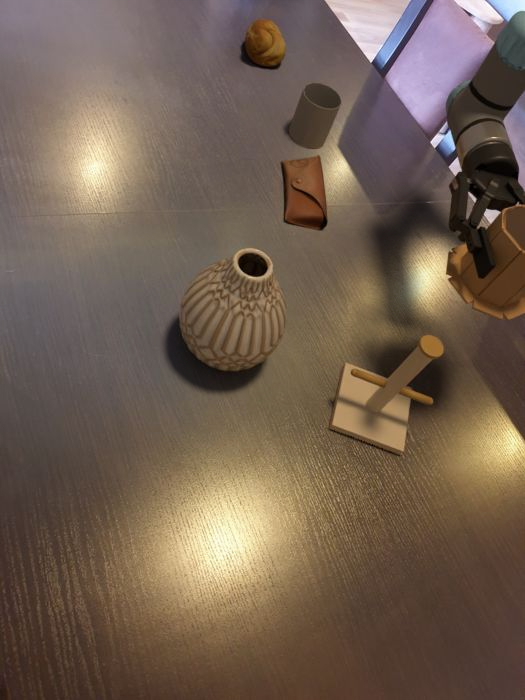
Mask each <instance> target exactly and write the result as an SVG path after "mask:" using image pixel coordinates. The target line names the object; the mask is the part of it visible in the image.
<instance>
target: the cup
mask: <svg viewBox="0 0 525 700" xmlns="http://www.w3.org/2000/svg"><path fill="white" fill-rule="evenodd" d="M342 103H343V100H342V96H341V95H340V94H339V92H338V91H337V90H336V89H334V88H333V87H332V86H330V85H327V84H325V83H323V82H310V83H307V84H305V85H304V87H303V89H302V91H301V94H300V96H299V99H298V103H297V105H296V107H295V111H294V114H293V117H292V119H291V122H290V125H289V127H288V132H289V133H288V134H289V137H290V138H291V139H292V141H293V142H294V143H296V144H297V145H299V146H300V147H303V148H306V149H308V150H309V149H311V150H316V149H317V150H318V149H320V148H322V147H324V145H325V143H326V141H327V140H328V136H329V135H330V131H331V129H332V128H333V125H334V122H335V120H336V117H337V115H338V113H339V111H340V108H341V106H342Z"/></svg>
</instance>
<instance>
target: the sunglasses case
mask: <svg viewBox="0 0 525 700" xmlns="http://www.w3.org/2000/svg"><path fill="white" fill-rule="evenodd" d="M281 166H282V171H283V177H284V190H285V211H284V220H285V221H286V222H287V223H289V224H292V225H295V226H298V227H302V228H307V229H312V230H317V231H319V230H323V229H325V228H326V227H327V226H328V223H329V222H328V221H329V220H328V206H327V196H326V187H325V179H324V171H323V170H324V169H323V164H322V159H321V155H320V154H317V155H316V156H311V157H304V158H297V159H291V160H281Z"/></svg>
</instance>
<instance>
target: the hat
mask: <svg viewBox="0 0 525 700" xmlns="http://www.w3.org/2000/svg"><path fill="white" fill-rule="evenodd" d="M486 231H487V235H488V238H489V242H490V245H491V249H492V253H493V256H494V260H495V263H496V266H495V267H494V269H493V270H492V271H491V272H490V273H489V274H488V275H487V276H486V277H485V278H484V279H481V278H478V274H477V270H476V266H475V262H474V259H473V255H472V254H471V253H469V251H468V250H467V246H466V243H463V244H460V245H457V246H454V247H453V246H452V248H451V250H449V251H448V252H447V259H446V260H447V262H446V268H445V275H447V276H449V277H448V278H447V282H449V284H450V285H451V286H452V287H453V289H454V290H455V292H456V293H457V294H458V295H459V297H460V298H461V299H462V301H463V302H464V303H465V304H466V305H469V304H472V305H471V309H473V310H474V311H477V312H479V313H482V314H484V315H487V316H488V317H491V318H493V319H497V320H499V321H503V320H504V319H505V320H506V322H508V321H511V320H514V319H516V318H518V317H520V316H523V315H525V205H521V204H520V205H519V204H516V206H513V207H509V208H505V209H503V210H502V211H501V212H499V214H497V216H496V217H495V218H494V219H493V220H492V222H491V223H490V224H489V225H488V226H487V228H486Z"/></svg>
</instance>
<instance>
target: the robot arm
mask: <svg viewBox="0 0 525 700" xmlns="http://www.w3.org/2000/svg"><path fill="white" fill-rule="evenodd" d="M524 93H525V10H519V11H517V12H515V13H514V14H513V15H512V16H511V17H510V19H509V20H508V22H507V23H506V25H504V27H503V29H502V30H501V31H500V32H499V33H498V35H497V37H496V40H495V42H494V43H493V45H492V47H491V48H490V50H489V51H488V53H487V54H486V56H485V58H484V60H483V61H482V63H481V65H480V66H479V67H478V70H477V71H476V73H475V74H474V76H473V77H472V78H470V79H467V80H463V81H462V82H460V83H459V84H458V85H457V86H456V87H455V88H453V89H452V90H451V91H450V92H449V94H448V96H447V98H446V101H445V112H446V113H445V114H446V122H447V124H446V125H447V127H448V129H449V131H450V134H451V138H452V141H453V142H452V143H453V144H454V148H455V152H456V157H457V160H458V163H459V168H460V170H461V171H460V170H459V171H458V172H457V173H456V175H455V176H454V177H453V179H452V180H451V182H450V183H449V184H448V189H449V191H450V193H451V198H450V207H449V216H448V224H447V229H448V231H450V232H451V233H456V232H459V234H458V236H457V239H458V240H459V241H460V242H462V243H465V244H466V246H467V250H468V251H469V253H471V254H472V255H473V259H474V262H475V266H476V270H477V274H478V278H481V279H484V278H485V277H486V276H487V275H488V274H489V273H490V272H491V271H492V270H493V269H494V267H495V266H496V263H495V260H494V256H493V253H492V249H491V245H490V242H489V238H488V235H487V231H486V229H487V228H486V227H485V226H481V225H480V224H481V221H482V219H483V217H484V215H485V213H486V212H487V210H489V211H497V212H499V213H501V211H502V210H503V209H505V208H509V207H513V206H516V205H520V204H521V205H525V189H524V187H523V186H522V185H521V184H520V182H519V176H520V166H519V163H518V160H517V157H516V154H515V152H514V149H513V145H512V142H511V139H510V136H509V134H508V131H507V128H506V125H505V122H504V121H505V119H506V117H507V116H508V114H509V113H510V112H511V110H512V109H513V108H514V106H516V104H517V102H518V100H519V99H520V98H521V96H522V95H523V94H524ZM469 194H471V195H472V196H473V197H474V198H475V202H474V204H473V206H472V208H471V212H470V213H469V216H468V217H467V213H468V203H469ZM479 225H480V226H479Z"/></svg>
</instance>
